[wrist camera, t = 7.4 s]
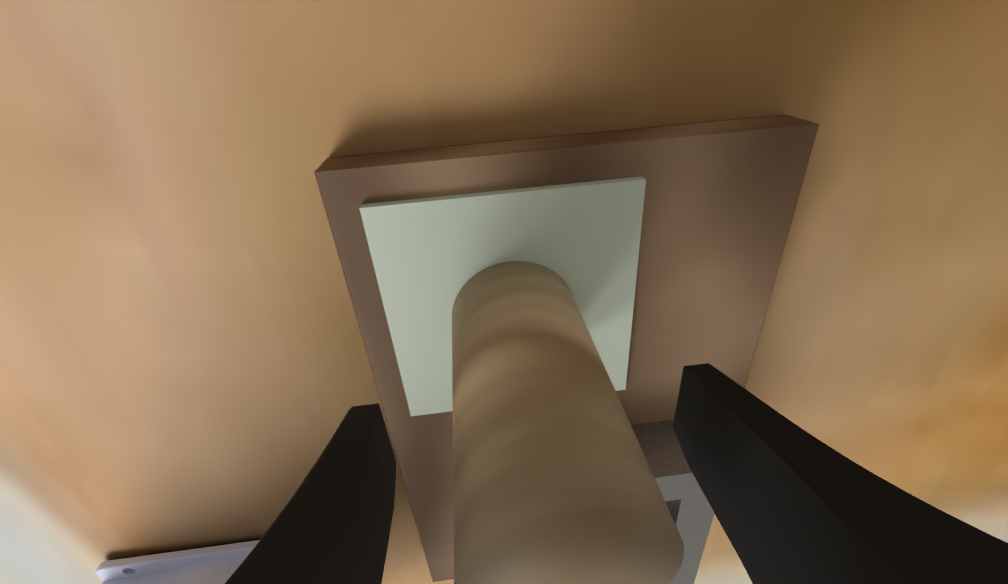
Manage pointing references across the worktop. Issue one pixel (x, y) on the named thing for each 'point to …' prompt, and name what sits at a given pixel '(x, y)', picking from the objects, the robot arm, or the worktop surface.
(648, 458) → the grey square frame
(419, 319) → the pad
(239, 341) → the worktop surface
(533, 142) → the walnut board
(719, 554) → the worktop surface
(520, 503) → the maple peg
